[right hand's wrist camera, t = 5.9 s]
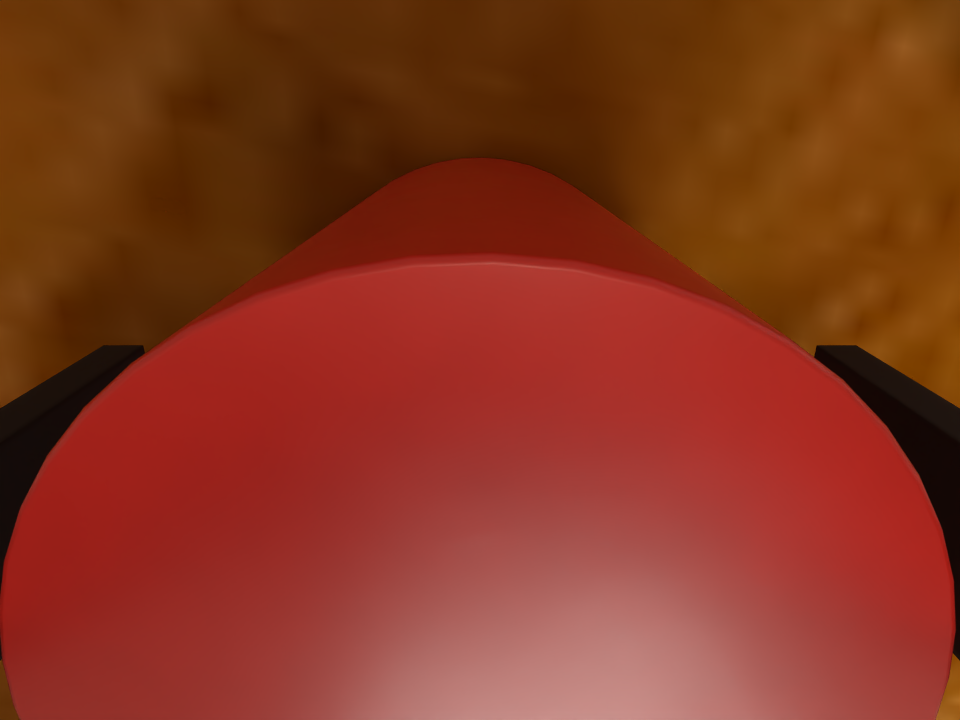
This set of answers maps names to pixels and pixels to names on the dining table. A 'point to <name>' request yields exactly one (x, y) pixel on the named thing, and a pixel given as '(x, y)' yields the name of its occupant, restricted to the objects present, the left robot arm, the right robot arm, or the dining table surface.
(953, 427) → the right robot arm
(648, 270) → the canister
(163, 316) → the dining table surface
